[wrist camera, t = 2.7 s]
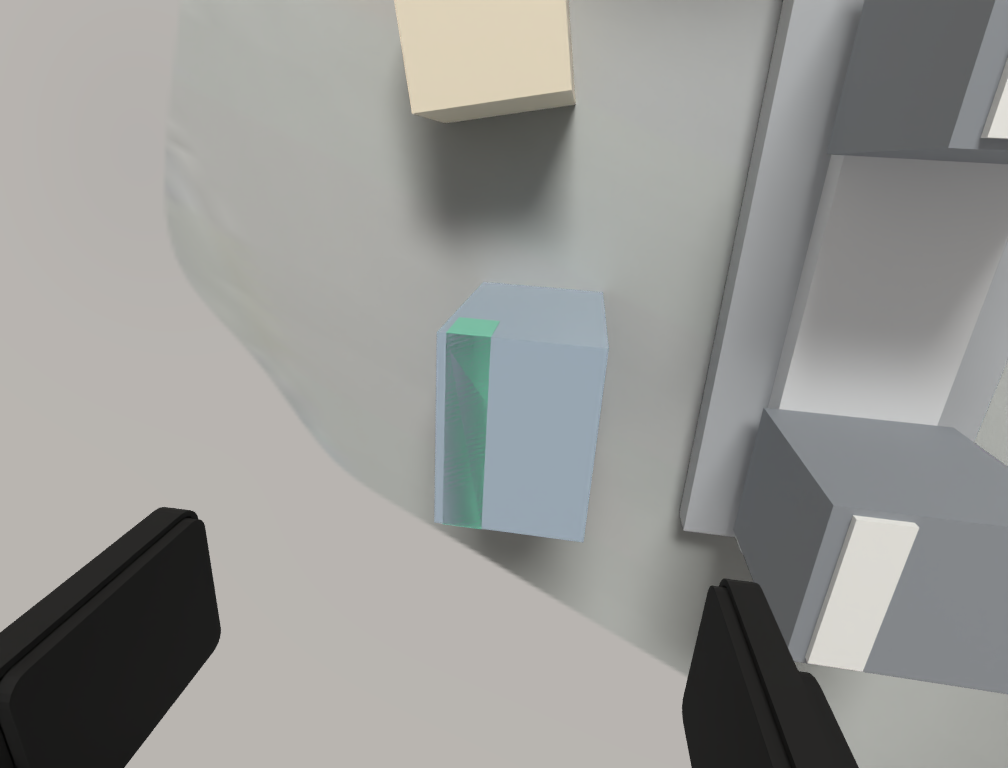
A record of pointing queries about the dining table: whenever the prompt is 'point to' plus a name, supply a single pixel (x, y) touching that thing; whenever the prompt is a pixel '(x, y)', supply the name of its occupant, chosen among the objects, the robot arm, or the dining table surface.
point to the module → (519, 409)
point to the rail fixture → (870, 343)
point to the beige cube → (485, 57)
